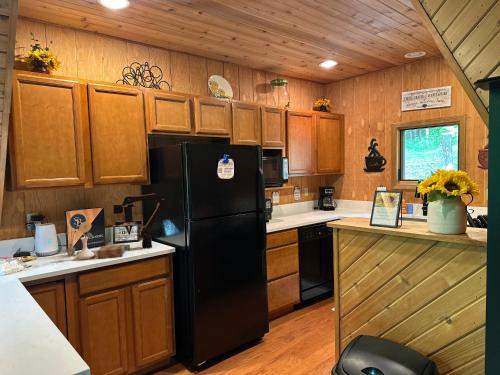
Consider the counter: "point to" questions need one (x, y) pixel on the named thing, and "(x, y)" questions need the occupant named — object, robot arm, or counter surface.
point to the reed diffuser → (71, 249)
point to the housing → (109, 251)
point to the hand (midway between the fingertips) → (129, 234)
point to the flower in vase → (85, 242)
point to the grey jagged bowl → (122, 249)
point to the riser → (127, 247)
